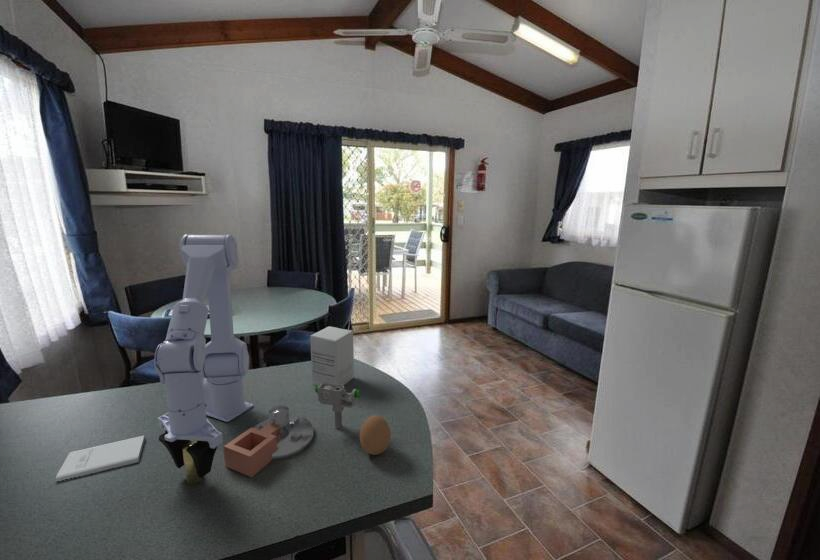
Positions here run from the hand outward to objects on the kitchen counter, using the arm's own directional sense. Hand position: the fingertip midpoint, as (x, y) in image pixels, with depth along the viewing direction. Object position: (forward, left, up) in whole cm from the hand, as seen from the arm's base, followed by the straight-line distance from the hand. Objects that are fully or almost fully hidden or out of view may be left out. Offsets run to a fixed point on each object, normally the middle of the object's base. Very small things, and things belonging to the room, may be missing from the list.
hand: (193, 469), depth 69 cm
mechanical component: (+15, +25, -2) cm, 29 cm away
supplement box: (+1, +43, -2) cm, 43 cm away
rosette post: (+6, +16, -2) cm, 17 cm away
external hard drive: (-21, -4, -3) cm, 21 cm away
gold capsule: (0, 0, -2) cm, 2 cm away
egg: (+27, +21, -2) cm, 34 cm away
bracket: (+6, +10, -2) cm, 11 cm away
